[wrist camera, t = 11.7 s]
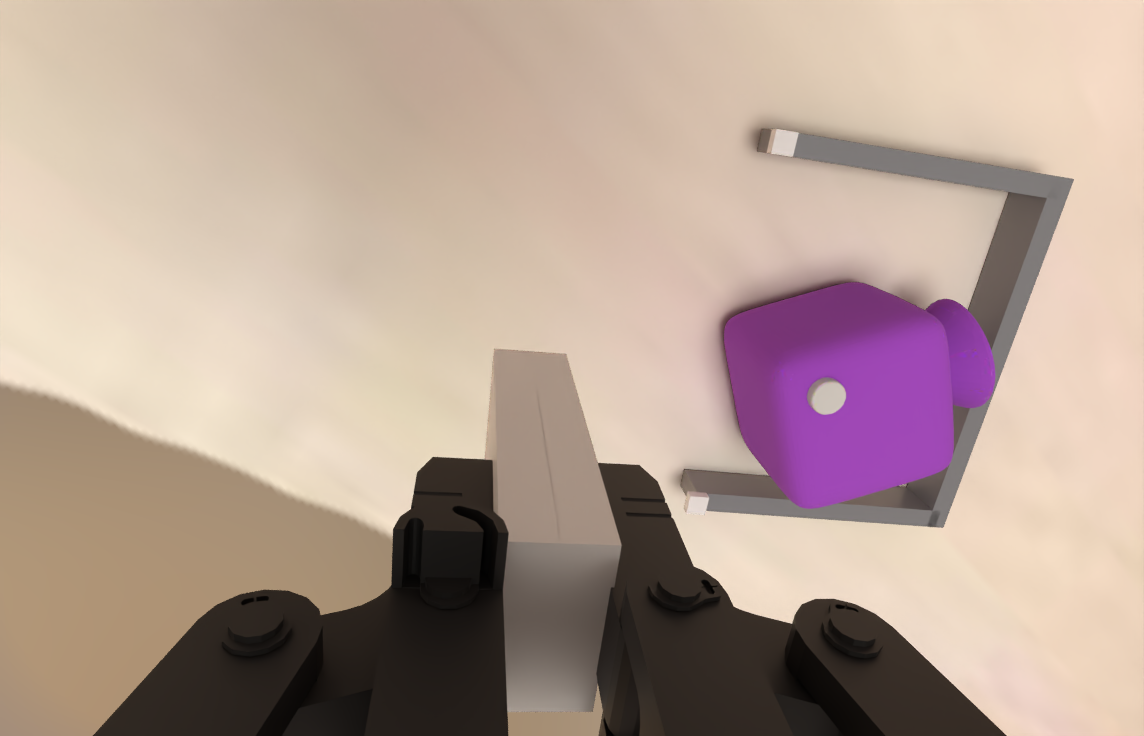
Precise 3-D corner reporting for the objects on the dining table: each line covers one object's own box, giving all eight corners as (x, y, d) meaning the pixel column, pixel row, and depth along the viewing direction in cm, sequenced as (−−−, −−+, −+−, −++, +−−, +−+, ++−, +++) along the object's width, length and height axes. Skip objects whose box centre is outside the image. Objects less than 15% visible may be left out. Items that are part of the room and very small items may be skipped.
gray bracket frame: (751, 127, 39) (776, 128, 35) (1034, 174, 42) (1081, 180, 38) (671, 484, 46) (686, 513, 43) (916, 503, 49) (947, 531, 46)
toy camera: (941, 375, 46) (1059, 443, 36) (750, 466, 46) (818, 556, 37) (898, 225, 42) (1018, 259, 32) (690, 327, 42) (749, 389, 33)
